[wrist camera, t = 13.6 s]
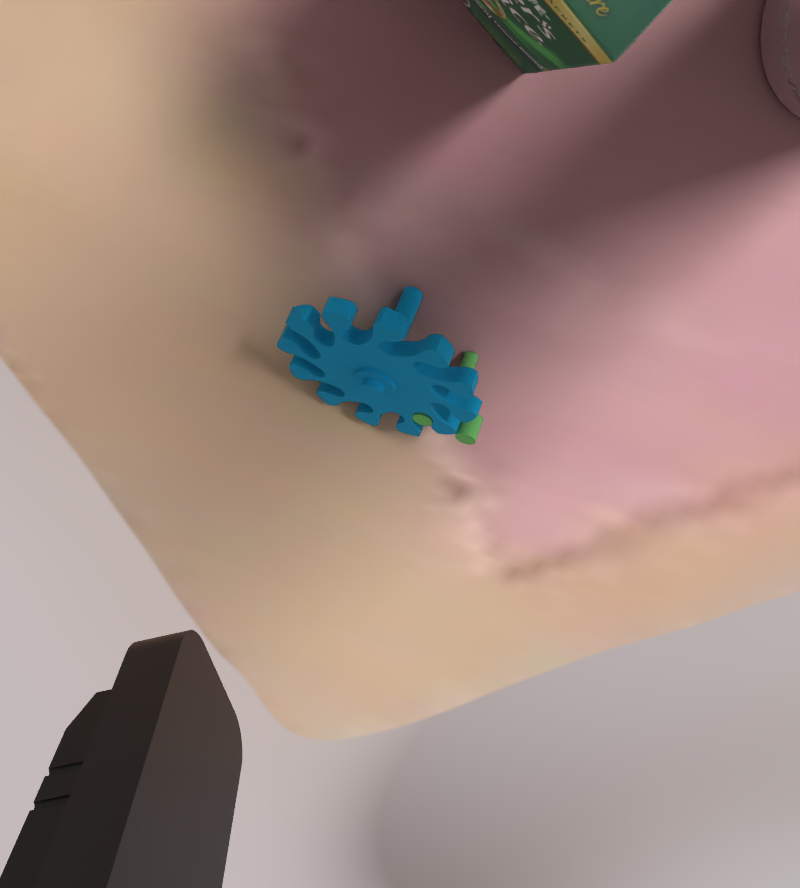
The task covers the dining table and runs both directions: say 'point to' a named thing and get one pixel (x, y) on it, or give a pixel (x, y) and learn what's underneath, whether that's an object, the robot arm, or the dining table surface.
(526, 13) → the coffee box
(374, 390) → the gear
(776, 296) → the dining table surface
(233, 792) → the robot arm
